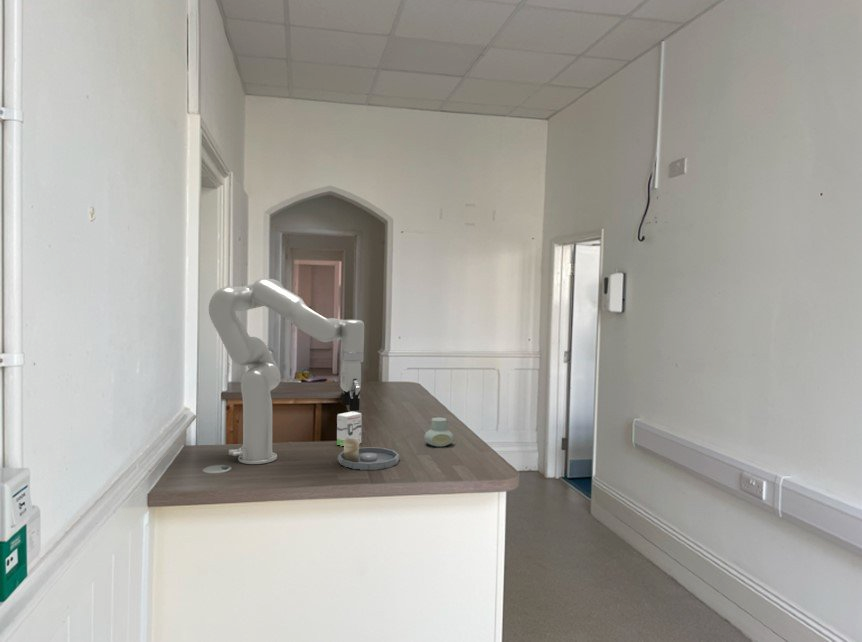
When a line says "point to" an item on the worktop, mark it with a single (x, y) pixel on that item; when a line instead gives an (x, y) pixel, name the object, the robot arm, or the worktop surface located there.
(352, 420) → the ink box
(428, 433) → the air freshener
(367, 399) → the worktop surface
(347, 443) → the beige cylinder
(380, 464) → the ring tray
